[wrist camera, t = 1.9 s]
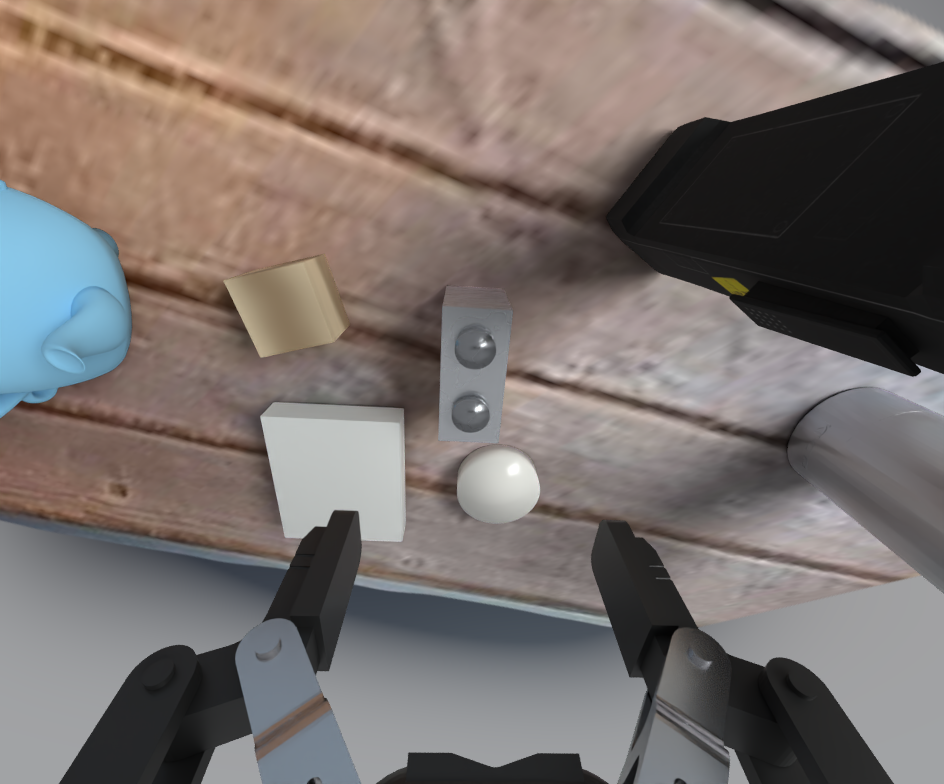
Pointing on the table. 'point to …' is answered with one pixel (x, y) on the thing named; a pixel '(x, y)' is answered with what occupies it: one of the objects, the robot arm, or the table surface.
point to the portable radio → (811, 217)
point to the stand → (338, 466)
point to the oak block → (289, 305)
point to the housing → (473, 363)
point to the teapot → (56, 301)
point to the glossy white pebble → (497, 484)
